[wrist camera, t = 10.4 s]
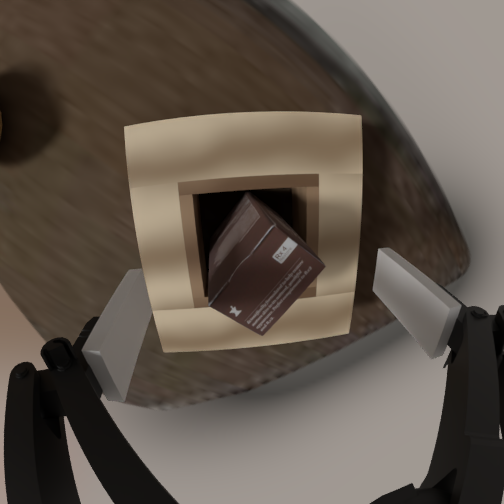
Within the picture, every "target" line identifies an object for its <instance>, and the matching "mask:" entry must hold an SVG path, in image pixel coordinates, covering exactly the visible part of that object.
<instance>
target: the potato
mask: <svg viewBox="0 0 504 504" xmlns="http://www.w3.org/2000/svg"><path fill="white" fill-rule="evenodd" d="M1 132H2V117H1V111H0V141H1Z"/></svg>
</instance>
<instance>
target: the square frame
mask: <svg viewBox="0 0 504 504" xmlns="http://www.w3.org/2000/svg"><path fill="white" fill-rule="evenodd" d="M124 132H125V147H126V158H127V169H128V178H129V187H130V195H131V202H132V209H133V216H134V222H135V229H136V235H137V240H138V246H139V251H140V257H141V262H142V267H143V272H144V276H145V281H146V285H147V290H148V294H149V298H150V303H151V307H152V311H153V315H154V319H155V323H156V326H157V330H158V334H159V337H160V341H161V344H162V348H163V351H164V352H189V351H208V350H222V349H235V348H246V347H256V346H266V345H275V344H283V343H291V342H298V341H305V340H312V339H318V338H325V337H331V336H337V335H342V334H348V333H349V328H350V322H351V315H352V308H353V301H354V293H355V285H356V276H357V266H358V255H359V243H360V229H361V211H362V176H363V152H362V118H361V115H351V114H338V113H321V112H241V113H224V114H211V115H201V116H191V117H182V118H175V119H167V120H160V121H154V122H148V123H142V124H136V125H131V126H126V127H124ZM291 187H292V229H293V230H294V231H295V232H296V233H297V234H298V235H299V236H300V237H301V238H302V240H304V242H305V243H306V244H307V245H308V246H309V247H310V248H311V249H312V250H313V252H314V253H315V254H316V255H317V256H318V257H319V258H320V259H321V261H322V262H323V263H324V264H325V266H326V267H325V268H324V269H323V270H322V272H321V273H320V274H319V275H318V276H317V277H316V278H315V280H314V281H313V282H312V283H311V284H310V285H309V286H308V288H307V289H306V290H305V291H304V292H303V293H302V294H301V296H300V297H299V298H298V299H297V300H296V301H295V302H294V303H293V304H292V305H291V307H290V308H289V309H288V310H287V311H286V312H285V313H284V314H283V315H282V316H281V317H280V319H279V320H278V321H277V322H276V323H275V324H274V325H273V326H272V327H271V328H270V329H269V330H268V331H267V332H266V333H265V334H264V335H263V336H261V335H259V334H257V333H255V332H253V331H251V330H250V329H248V328H246V327H244V326H243V325H241V324H239V323H237V322H236V321H234V320H232V319H231V318H229V317H227V316H225V315H224V314H222V313H220V312H218V311H217V310H215V309H213V308H211V307H209V306H208V287H209V285H208V283H209V272H207V267H206V259H205V250H204V241H203V232H202V222H201V212H200V202H199V194H202V193H213V192H225V191H238V190H253V189H270V188H291Z"/></svg>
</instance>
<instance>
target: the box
mask: <svg viewBox="0 0 504 504" xmlns="http://www.w3.org/2000/svg"><path fill="white" fill-rule="evenodd" d="M325 267H326V266H325V264H324V263H323V262H322V261H321V259H320V258H319V257H318V256H317V255H316V254H315V253H314V252H313V250H312V249H311V248H310V247H309V246H308V245H307V244H306V243H305V242H304V240H302V238H301V237H300V236H299V235H298V234H297V233H296V232H295V231H294V230H293V229H292V228H291V227H290V225H289V224H288V223H287V222H286V221H285V220H284V219H283V218H282V217H281V216H280V215H279V214H278V213H277V212H276V211H274V210H273V209H272V208H270V207H269V206H268V205H267V204H265V203H264V202H263V201H261V200H260V199H259V198H258V197H256V196H255V195H254V194H252V193H251V192H250V191H246V192H245V193H244V195H243V196H242V197H241V198H240V200H239V201H238V202H237V203H236V205H235V206H234V207H233V208H232V210H231V211H230V212H229V213H228V215H227V216H226V217H225V219H224V220H223V221H222V223H221V224H220V225H219V227H218V228H217V229H216V231H215V232H214V233H213V235H212V236H211V237H210V250H209V283H208V285H209V287H208V306H209V307H211V308H213V309H215V310H217V311H218V312H220V313H222V314H224V315H225V316H227V317H229V318H231V319H232V320H234V321H236V322H237V323H239V324H241V325H243V326H244V327H246V328H248V329H250V330H251V331H253V332H255V333H257V334H259V335H261V336H263V335H264V334H265V333H266V332H267V331H268V330H269V329H270V328H271V327H272V326H273V325H274V324H275V323H276V322H277V321H278V320H279V319H280V317H281V316H282V315H283V314H284V313H285V312H286V311H287V310H288V309H289V308H290V307H291V305H292V304H293V303H294V302H295V301H296V300H297V299H298V298H299V297H300V296H301V294H302V293H303V292H304V291H305V290H306V289H307V288H308V286H309V285H310V284H311V283H312V282H313V281H314V280H315V278H316V277H317V276H318V275H319V274H320V273H321V272H322V270H323V269H324V268H325Z"/></svg>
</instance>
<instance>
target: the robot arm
mask: <svg viewBox="0 0 504 504" xmlns="http://www.w3.org/2000/svg"><path fill="white" fill-rule="evenodd" d="M373 292H374V293H375V294H376V295H377V296H378V297H379V298H380V299H381V301H382V302H383V303H384V304H385V305H386V306H387V307H388V308H389V310H390V311H391V312H392V313H393V314H394V315H395V317H396V318H397V319H398V320H399V321H400V322H401V323H402V325H403V326H404V327H405V328H406V329H407V330H408V332H409V333H410V334H411V335H412V336H413V338H414V339H415V340H416V341H417V343H418V344H419V345H420V346H421V347H422V349H423V350H424V351H425V352H426V353H427V355H428V356H429V357H430V358H431V359H434V358H436V357H439V356H442V355H443V354H444V351H445V349H446V347H447V345H448V346H449V347H450V348H451V351H450V353H449V355H448V358H447V360H446V362H445V364H444V367H443V368H445V367H446V365H448V370H447V381H446V389H445V396H444V403H443V409H442V415H441V421H440V426H439V431H438V436H437V440H436V444H435V449H434V453H433V456H432V460H431V464H430V467H429V471H428V474H427V476H426V478H425V479H424V481H423V483H422V484H421V486H420V488H416V489H415V488H414V486H413V484H412V483H411V484H409V485H407V486H405V487H402V488H400V489H398V490H395V491H393V492H390V493H388V494H385V495H383V496H381V497H380V498H378V499H376V500H375V501H373V502H371V503H370V504H501V501H502V496H503V491H504V305H501V306H499V308H498V311H497V314H496V315H489V314H488V313H487V312H486V311H485V310H484V309H482V308H480V307H476V306H471V307H466V306H465V305H464V304H463V303H462V302H461V301H459V300H458V299H457V298H456V297H455V296H452V294H451V293H450V292H448V291H447V290H446V289H445V288H444V287H443V286H441V285H439V284H437V283H435V282H433V281H432V280H431V279H429V278H428V277H427V276H426V275H424V274H423V273H422V272H421V271H419V270H418V269H417V268H416V267H414V266H413V265H412V264H410V263H409V262H408V261H406V260H405V259H404V258H402V257H401V256H400V255H398V254H397V253H396V252H394V251H393V250H392V249H390V248H379V249H378V255H377V263H376V270H375V277H374V284H373ZM151 315H152V309H151V305H150V301H149V297H148V293H147V289H146V285H145V280H144V276H143V271H142V269H131V270H128V272H127V273H126V275H125V277H124V278H123V280H122V281H121V283H120V284H119V286H118V288H117V289H116V291H115V293H114V294H113V296H112V297H111V299H110V301H109V302H108V304H107V306H106V307H105V309H104V311H103V313H102V314H101V316H100V317H93V318H92V319H91V320H90V321H88V322H87V323H86V325H85V326H84V328H83V330H82V331H81V333H80V335H79V337H78V338H77V340H76V342H75V343H74V345H73V347H72V345H71V343H70V341H69V340H68V339H66V338H63V337H61V338H55V339H52V340H50V341H48V342H47V343H46V344H45V345H44V346H43V347H42V349H41V356H42V358H43V360H44V362H45V363H46V365H47V367H48V369H46V370H40V371H37V370H36V368H35V367H34V365H33V364H32V363H30V362H23V363H20V364H18V365H16V366H15V367H14V368H13V370H12V371H11V373H10V378H9V384H8V391H7V400H6V411H5V425H4V468H5V469H4V470H5V484H6V493H7V502H8V504H81V502H80V499H79V495H78V492H77V488H76V484H75V480H74V475H73V471H72V466H71V461H70V456H69V451H68V445H67V439H66V432H65V424H64V416H67V418H68V420H69V423H70V425H71V427H72V430H73V431H74V434H75V436H76V438H77V440H78V442H79V444H80V446H81V448H82V450H83V452H84V454H85V456H86V458H87V460H88V462H89V463H90V465H91V467H92V469H93V470H94V472H95V474H96V476H97V477H98V479H99V481H100V482H101V484H102V486H103V487H104V489H105V490H106V492H107V493H108V495H109V496H110V498H111V499H112V501H113V502H114V504H179V503H178V502H177V501H176V500H175V499H174V498H173V497H172V496H171V495H170V494H169V493H168V491H167V490H166V489H165V488H164V487H163V486H162V485H161V483H160V482H159V481H158V480H157V479H156V478H155V476H154V475H153V474H152V473H151V472H150V470H149V469H148V468H147V467H146V466H145V464H144V463H143V462H142V460H141V459H140V458H139V456H138V455H137V454H136V452H135V451H134V450H133V448H132V447H131V446H130V444H129V443H128V441H127V440H126V439H125V437H124V436H123V434H122V433H121V432H120V430H119V428H118V427H117V425H116V424H115V422H114V421H113V419H112V418H111V416H110V414H109V413H108V411H107V410H106V408H105V406H104V405H103V403H102V401H101V400H100V398H101V395H102V392H103V393H104V395H105V396H106V398H107V400H109V401H119V402H125V398H126V394H127V391H128V387H129V384H130V380H131V377H132V374H133V370H134V367H135V364H136V360H137V357H138V354H139V351H140V348H141V345H142V342H143V338H144V335H145V332H146V329H147V326H148V323H149V321H150V318H151ZM499 425H500V428H501V433H502V439H500V438H499Z"/></svg>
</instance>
